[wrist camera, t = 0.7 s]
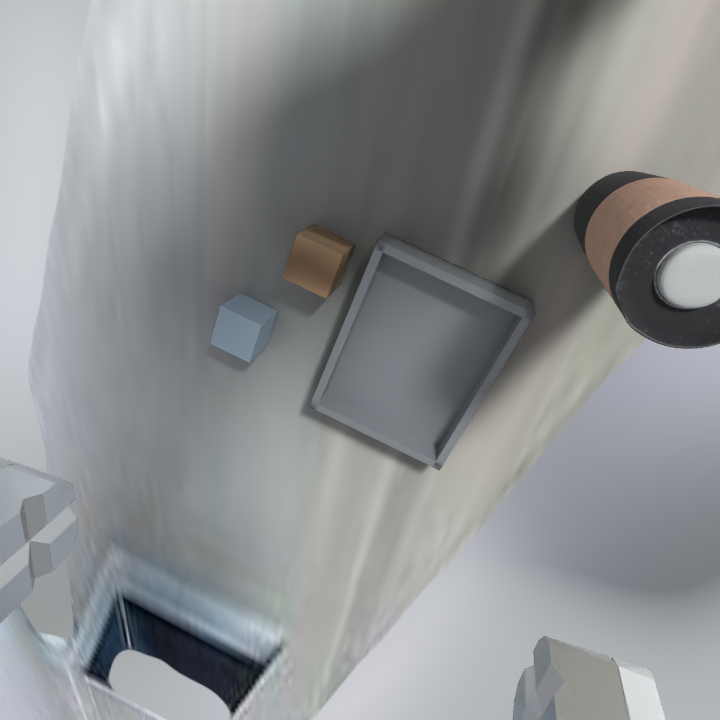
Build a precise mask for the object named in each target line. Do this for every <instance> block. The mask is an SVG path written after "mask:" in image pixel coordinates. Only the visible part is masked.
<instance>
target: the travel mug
mask: <svg viewBox="0 0 720 720" xmlns="http://www.w3.org/2000/svg"><path fill="white" fill-rule="evenodd" d="M575 230H576V234H577V237H578V239H579V242H580V244H581V246H582V248H583V251H584V253H585V255H586V257H587V259H588V262H589V264H590V265H591V267H592V269H593V270H594V272H595V273H596V275H597V276H598V278H599V279H600V281H601V282H602V284H603V285H604V287H605V288H606V290H607V291H608V293H609V294H610V296H611V297H612V299H613V300H614V302H615V304H616V305H617V307H618V308H619V310H620V311H621V313H622V314H623V316H624V318H625V320H626V322H627V323H628V324H629V326H630V327H631V328H633V329H634V330H635V331H636V332H638V333H639V334H641V335H642V336H644V337H646V338H647V339H649V340H651V341H654V342H656V343H658V344H662V345H665V346H669V347H674V348H684V349H687V348H688V349H689V348H703V347H709V346H713V345H717V344H720V197H718V196H715V195H712V194H710V193H707V192H705V191H702V190H699V189H697V188H694V187H692V186H689V185H686V184H684V183H681V182H679V181H675V180H672V179H668V178H664V177H659V176H655V175H650V174H646V173H641V172H634V171H624V172H617V173H613V174H610V175H608V176H606V177H604V178H602V179H600V180H598V181H597V182H595V183H594V184H593V185H592V186H591V187H590V188H589V189H588V190H587V191H586V192H585V193H584V195H583V196H582V198H581V199H580V201H579V203H578V206H577V209H576V212H575Z"/></svg>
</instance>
